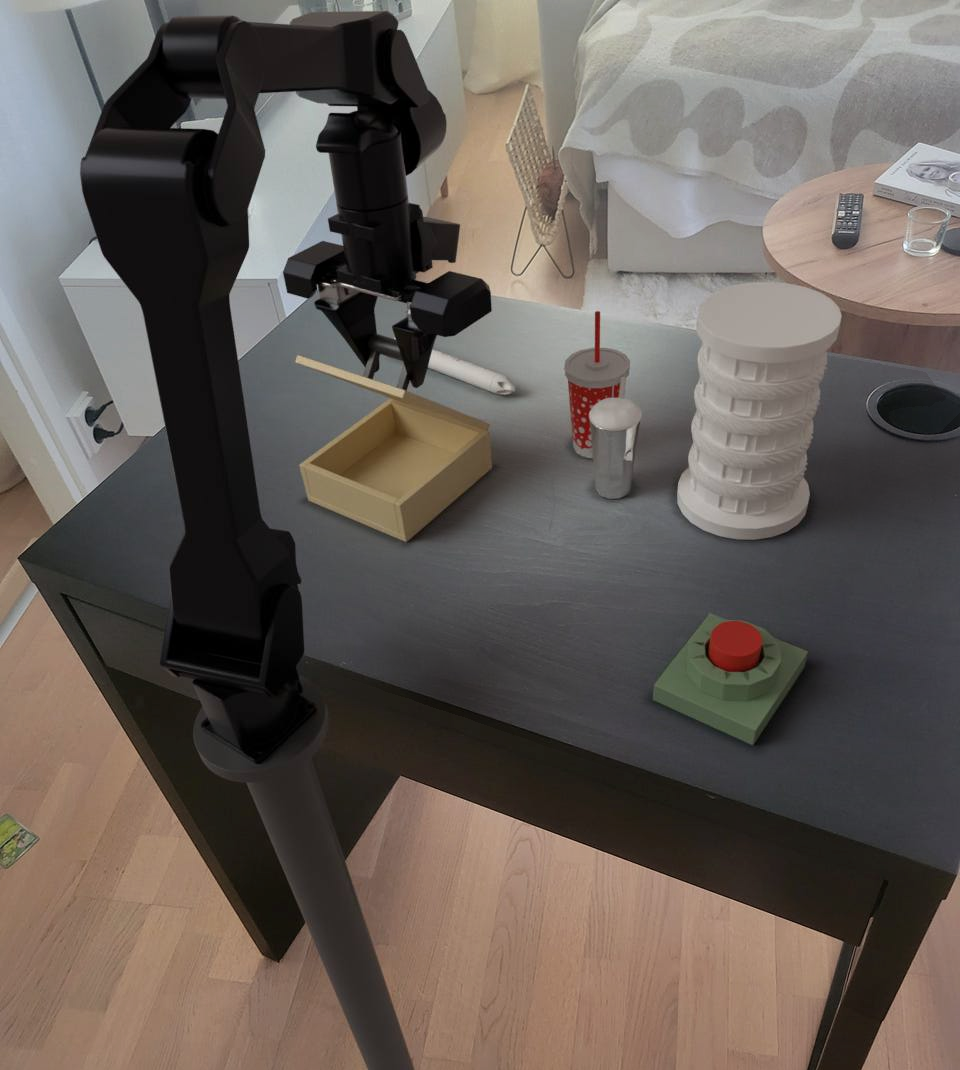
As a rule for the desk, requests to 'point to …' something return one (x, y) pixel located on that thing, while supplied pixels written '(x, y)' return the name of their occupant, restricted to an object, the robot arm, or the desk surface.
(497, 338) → the desk surface
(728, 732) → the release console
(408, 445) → the tan wooden shallow box
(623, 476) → the milkshake
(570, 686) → the desk surface
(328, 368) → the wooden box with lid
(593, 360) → the beverage cup
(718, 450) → the decorative container
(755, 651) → the release button
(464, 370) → the marker
